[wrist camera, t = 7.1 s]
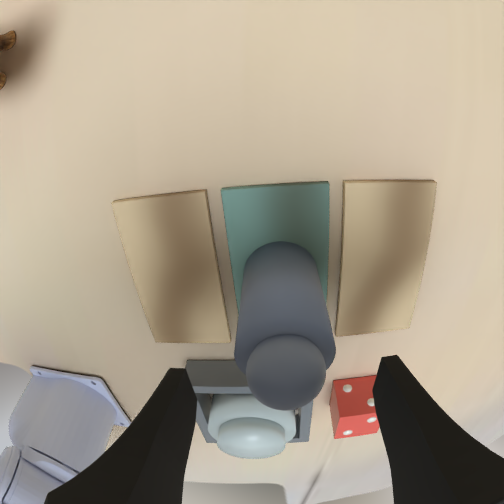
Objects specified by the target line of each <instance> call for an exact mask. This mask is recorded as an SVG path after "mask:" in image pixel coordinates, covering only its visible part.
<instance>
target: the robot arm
mask: <svg viewBox="0 0 504 504" xmlns="http://www.w3.org/2000/svg"><path fill="white" fill-rule="evenodd" d="M30 371H31V373H32V374H33V376H32V378H31V380H30V381H29V383H28V385H27V387H26V389H25V390H24V392H23V394H22V396H21V397H20V399H19V401H18V403H17V405H16V406H15V408H14V410H13V412H12V414H11V417H10V421H9V435H10V439H11V441H12V443H13V445H14V446H12V447H6V448H5V449H4V451H3V452H2V454H1V455H0V504H182V492H183V481H184V474H185V468H186V464H187V459H188V455H189V450H190V446H191V441H192V437H193V432H194V427H195V422H196V411H197V397H196V395H195V392H194V389H193V387H192V384H191V381H190V379H189V376H188V373H187V371H186V369H183V368H170V369H169V370H168V371H167V373H166V375H165V376H164V378H163V379H162V381H161V382H160V384H159V385H158V387H157V388H156V390H155V391H154V393H153V394H152V396H151V397H150V399H149V400H148V402H147V403H146V404H145V406H144V407H143V409H142V410H141V411H140V413H139V414H138V415H137V417H136V418H135V419H134V420H133V422H132V423H131V421H130V420H129V419H128V417H127V416H126V414H125V413H124V412H123V410H122V409H121V407H120V406H119V404H118V403H117V401H116V400H115V398H114V397H113V395H112V394H111V392H110V391H109V389H108V388H107V386H106V384H105V383H104V381H103V380H102V379H100V378H98V377H91V376H84V375H78V374H71V373H65V372H60V371H54V370H49V369H44V368H39V367H34V366H31V367H30ZM372 392H373V398H374V405H375V410H376V415H377V419H378V422H379V426H380V429H381V433H382V437H383V440H384V444H385V447H386V451H387V455H388V459H389V463H390V468H391V476H392V485H393V496H394V504H504V458H502V457H501V456H499V455H497V454H496V453H494V452H492V451H490V450H489V449H488V448H487V447H485V446H484V445H482V444H481V443H480V442H478V441H477V440H476V439H474V438H473V437H472V436H470V435H469V434H468V433H467V432H466V431H464V430H463V429H462V428H461V427H460V426H459V425H458V424H457V423H456V422H454V421H453V420H452V419H451V418H450V417H449V416H448V415H447V414H446V413H445V412H444V410H443V409H442V408H441V407H440V406H439V405H438V404H437V403H436V402H435V401H434V400H433V399H432V397H431V396H430V395H429V394H428V393H427V392H426V390H425V389H424V388H423V387H422V386H421V384H420V383H419V382H418V381H417V379H416V378H415V377H414V376H413V374H412V373H411V372H410V371H409V369H408V368H407V367H406V366H405V364H404V363H403V362H402V360H401V359H400V358H399V357H398V356H397V355H393V356H387V357H382V358H381V362H380V365H379V369H378V372H377V376H376V379H375V382H374V386H373V389H372ZM113 425H119V426H125V427H128V428H127V429H126V430H125V431H124V433H123V434H122V435H121V436H120V437H119V438H118V439H117V440H116V441H115V442H114V443H113V444H112V446H111V447H110V448H109V449H108V450H106V451H105V449H106V446H107V443H108V440H109V437H110V434H111V431H112V428H113Z"/></svg>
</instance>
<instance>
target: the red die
mask: <svg viewBox="0 0 504 504" xmlns="http://www.w3.org/2000/svg"><path fill="white" fill-rule="evenodd" d="M376 376H377V375H374V376H367V377H359V378H351V379H342V380H334V381H333V387H332V393H331V399H330V411H331V418H332V426H333V433H334V439H338V438H346V437H353V436H360V435H366V434H372V433H377V431H378V429H379V422H378V419H377V415H376V410H375V405H374V398H373V392H372V389H373V386H374V382H375V379H376Z"/></svg>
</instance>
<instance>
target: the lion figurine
mask: <svg viewBox="0 0 504 504" xmlns="http://www.w3.org/2000/svg"><path fill="white" fill-rule="evenodd" d="M15 41H16V35H15V32H14V31H10V32H8V33H6V34H4V35H0V51H2V50H8V49H10V48H12V47H13V45H14V43H15ZM5 81H6V75H5V74H4V73H3V72H0V89H1V88H2V87H3V86H4V85H5Z"/></svg>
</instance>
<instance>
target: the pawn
mask: <svg viewBox="0 0 504 504" xmlns="http://www.w3.org/2000/svg"><path fill="white" fill-rule="evenodd" d="M335 353H336V347H335V342H334V337H333V333H332V328H331V324H330V320H329V315H328V311H327V307H326V303H325V298H324V294H323V290H322V286H321V282H320V278H319V274H318V270H317V266H316V263H315V260H314V258H313V257H312V255H311V254H310V253H309V252H308V251H307V250H306V249H305V248H303V247H301V246H300V245H297V244H295V243H291V242H285V241H278V242H272V243H268V244H265V245H263V246H261V247H259V248H258V249H256V250H255V251H254V252H253V253H252V254H251V255H250V256H249V258H248V259H247V261H246V263H245V267H244V273H243V282H242V290H241V299H240V308H239V316H238V325H237V334H236V343H235V352H234V357H235V361H236V364H237V366H238V368H239V369H240V370H241V371H242V372H243V373H244V374H245V375H246V379H247V383H248V386H249V389H250V391H251V392H252V394H253V395H254V396H255V398H256V399H257V400H258V401H260V402H261V403H262V404H264V405H265V406H267V407H269V408H272V409H276V410H282V411H288V410H295V409H298V408H301V407H303V406H305V405H307V404H308V403H310V402H311V401H312V400H313V399H314V398H315V397H316V396H317V395H318V394H319V392H320V391H321V389H322V387H323V385H324V382H325V378H326V370H327V369H328V368H329V367H330V365H331V364H332V362H333V360H334V358H335Z"/></svg>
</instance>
